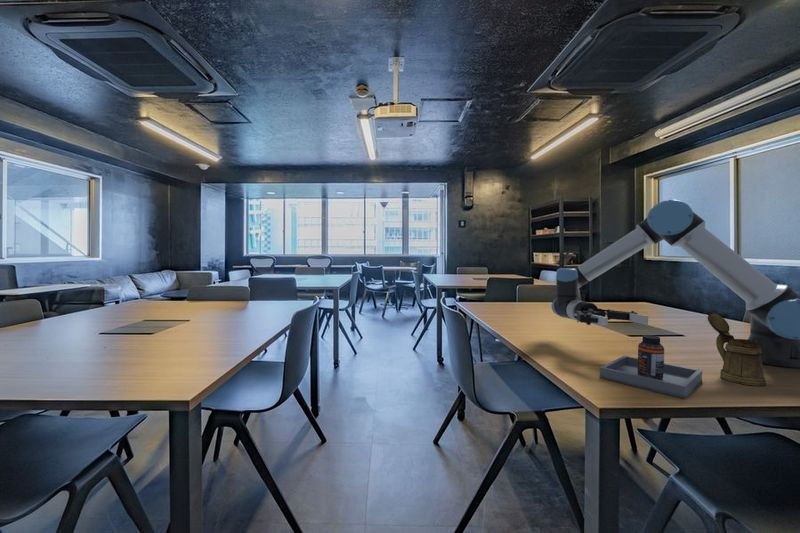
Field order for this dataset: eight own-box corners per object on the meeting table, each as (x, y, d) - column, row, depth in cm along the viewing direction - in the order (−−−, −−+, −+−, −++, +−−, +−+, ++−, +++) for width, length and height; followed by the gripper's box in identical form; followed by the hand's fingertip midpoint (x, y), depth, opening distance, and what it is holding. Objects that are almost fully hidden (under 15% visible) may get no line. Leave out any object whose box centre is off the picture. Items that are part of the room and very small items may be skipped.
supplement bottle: (632, 373, 101) (633, 334, 101) (651, 372, 102) (652, 333, 101) (648, 380, 95) (649, 338, 95) (669, 380, 96) (670, 338, 95)
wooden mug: (720, 369, 108) (721, 310, 107) (775, 385, 95) (777, 318, 94) (696, 371, 106) (698, 311, 106) (748, 387, 93) (751, 319, 92)
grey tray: (702, 381, 97) (702, 370, 97) (684, 399, 85) (685, 386, 85) (624, 364, 112) (624, 355, 112) (599, 378, 100) (599, 367, 99)
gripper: (613, 320, 131) (663, 331, 110) (550, 323, 128) (589, 335, 107) (613, 300, 131) (663, 307, 110) (550, 302, 128) (589, 310, 107)
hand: (627, 321), depth 109 cm, fingers open, 13 cm apart
